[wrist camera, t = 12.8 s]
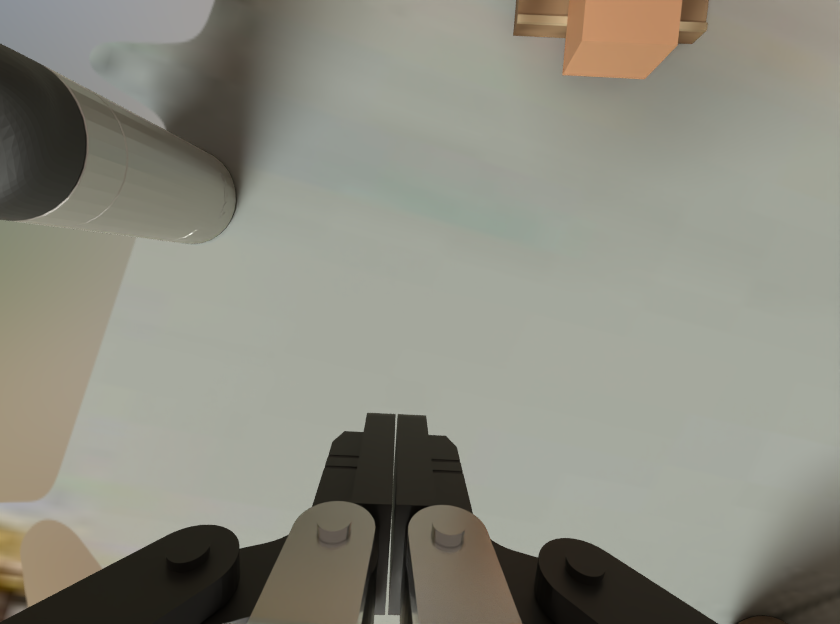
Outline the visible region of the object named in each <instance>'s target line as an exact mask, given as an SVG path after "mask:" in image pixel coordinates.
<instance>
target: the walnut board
mask: <svg viewBox="0 0 840 624" xmlns="http://www.w3.org/2000/svg"><path fill="white" fill-rule="evenodd" d="M708 1H709V0H682V8H681V18H680V27H679V37H678V43H683V44H692V43H694V42H695V41H696V40H697V39H698V38H699V37H700V36H701V35H702V34H703V33H704V32H705V31H706V30H707V25H708V23H706V17H707V9H708ZM568 8H569V0H516V10H515V22H514V33H513V36H534V37H556V38H566V30H567V19H568Z"/></svg>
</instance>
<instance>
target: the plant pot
mask: <svg viewBox="0 0 840 624" xmlns="http://www.w3.org/2000/svg"><path fill="white" fill-rule="evenodd" d="M738 624H788V623H786V622H784V621H782V620H780V619H777V618H774V617H770V616H755V617H751V618H748V619H745V620H743V621H741V622H739V623H738Z"/></svg>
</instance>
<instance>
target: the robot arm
mask: <svg viewBox="0 0 840 624" xmlns="http://www.w3.org/2000/svg"><path fill="white" fill-rule="evenodd" d="M235 203H236V193H235V187H234V183H233V180H232V178H231V176H230V174H229V172H228V170H227V169H226V168H225V166H224V165H223V164H222V163H221V162H220V161H219V160H218V159H217V158H215V157H214V156H212V155H211V154H209V153H207V152H205V151H203V150H201V149H200V148H198V147H196V146H194V145H192V144H190V143H188V142H187V141H185V140H183V139H181V138H180V137H178V136H176V135H174V134H172V133H170V132H168V131H166V130H164V129H163V128H161V127H159V126H157V125H155V124H153V123H151V122H149V121H147V120H145V119H144V118H142V117H140V116H138V115H136V114H134V113H132V112H131V111H129V110H127V109H125V108H123V107H121V106H119V105H117V104H116V103H114V102H112V101H110V100H108V99H106V98H104V97H102V96H100V95H98V94H97V93H95V92H93V91H91V90H89V89H87V88H85V87H83V86H81V85H79V84H77V83H75V82H74V81H72V80H70V79H68V78H66V77H64V76H62V75H60V74H58V73H57V72H55V71H53V70H51V69H49V68H47V67H45V66H44V65H41V64H39V63H37V62H36V61H34V60H32V59H30V58H28V57H26V56H24V55H22V54H20V53H18V52H16V51H14V50H12V49H10V48H8V47H6V46H4V45H2V44H0V220H8V221H16V222H23V223H31V224H39V225H46V226H54V227H64V228H72V229H79V230H87V231H94V232H102V233H110V234H117V235H125V236H132V237H140V238H148V239H155V240H162V241H169V242H177V243H186V244H198V243H204V242H206V241H209V240H212V239H213V238H215V237H216V236H218V235H219V234H220V233H221V232H222V231H223V230H224V229H225V228H226V227H227V225H228V224H229V222H230V220H231V218H232V216H233V213H234V210H235ZM394 440H395V414H382V413H367V417H366V422H365V428H364V432H349V431H344V432H343V433H342V434H341V435H340V436H339V437H338V438H336V439H335V440H334V441H333V442H332V445H331V449H330V452H329V456H328V458H327V461H326V464H325V468H324V471H323V474H322V477H321V480H320V483H319V486H318V490H317V493H316V496H315V499H314V502H313V505H312V507H311V508H309V509H308V510H306V511H305V512H303V513H302V514H301V515H300V516H299V517H298V518H297V519H296V521H295V523H294V524H293V527H292V529H291V531H290V533H289V535H287V536H285V537H283V538H280V539H278V540H275V541H272V542H268V543H264V544H260V545H255V546H250V547H245V548H241V549H239V541H238V539H237V537H236V535H235V534H234V533H233V532H232V531H230V530H229V529H227V528H224V527H221V526H217V525H198V526H192V527H188V528H184V529H181V530H178V531H176V532H173V533H171V534H169V535H167V536H165V537H163V538H161V539H159V540H157V541H155V542H154V543H152V544H150V545H148V546H146V547H144V548H142V549H140V550H138V551H136V552H134V553H132V554H130V555H129V556H127V557H125V558H123V559H121V560H119V561H117V562H115V563H113V564H111V565H109V566H107V567H106V568H104V569H102V570H100V571H98V572H96V573H94V574H92V575H90V576H88V577H86V578H85V579H83V580H81V581H79V582H77V583H75V584H73V585H71V586H69V587H67V588H65V589H63V590H61V591H59V592H58V593H56V594H54V595H52V596H50V597H48V598H46V599H44V600H42V601H40V602H39V603H36V604H35V605H33V606H31V607H29V608H27V609H25V610H23V611H21V612H19V613H17V614H15V615H13V616H11V617H10V618H8V619H6V620H4V621H2V622H0V624H374V615H385V603H386V588H387V574H388V559H389V544H390V529H391V554H390V582H389V610H388V615H400V624H718V623H716V622H715V621H713V620H711V619H710V618H708V617H707V616H705V615H704V614H702V613H701V612H699V611H697V610H696V609H694V608H693V607H691V606H690V605H688V604H687V603H685V602H683V601H682V600H680V599H679V598H677V597H676V596H674V595H673V594H671V593H669V592H668V591H666V590H665V589H663V588H662V587H660V586H659V585H657V584H655V583H654V582H652V581H651V580H649V579H648V578H646V577H645V576H643V575H641V574H640V573H638V572H637V571H635V570H634V569H632V568H631V567H629V566H627V565H626V564H624V563H623V562H621V561H620V560H618V559H617V558H615V557H613V556H612V555H610V554H609V553H607V552H606V551H604V550H602V549H601V548H599V547H597V546H595V545H593V544H590V543H588V542H585V541H582V540H577V539H571V538H560V539H555V540H552V541H549V542H548V543H546V544H545V545H544V546H543V547H542V548H541V550H540V552H539V557H538V558H537V557H534V556H530V555H527V554H523V553H520V552H516V551H513V550H510V549H507V548H505V547H503V546H501V545H499V544H497V543H495V542H494V541H492V540H491V539H490V537H489V534H488V532H487V529H486V527H485V526H484V524H483V523H482V521H481V520H480V519H478V518H477V517H476V516H475V515H473V512H472V508H471V504H470V500H469V496H468V492H467V488H466V483H465V479H464V475H463V474H462V467H461V463H460V459H459V455H458V450H457V447H456V446H455V445H454V444H453V443H452V442H451V441H450V440H449V439H448V438H447V437H446V436H436V435H428V428H427V420H426V416H424V415H404V414H398V418H397V432H396V447H395V462H394ZM393 468H394V477H393ZM392 496H393V497H392ZM391 515H392V525H391Z"/></svg>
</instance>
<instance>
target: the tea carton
mask: <svg viewBox="0 0 840 624" xmlns="http://www.w3.org/2000/svg"><path fill="white" fill-rule="evenodd" d="M681 8H682V0H569V8H568V19H567V30H566V41H565V53H564V64H563V75H572V76H592V77H612V78H632V79H645V78H646V77H647V76H648V75H649V74H650V73H651V72H652V71H653V70H654V69H655V68H656V67H657V66H658V65H659V64H660V63H661V62H662V61H663V60H664V59H665V58H666V57H667V56H668V55H669V54H670V53H671V51H672V50H673V49H674V48H675V47H676V46H677V45H678V37H679V27H680V18H681Z"/></svg>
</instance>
